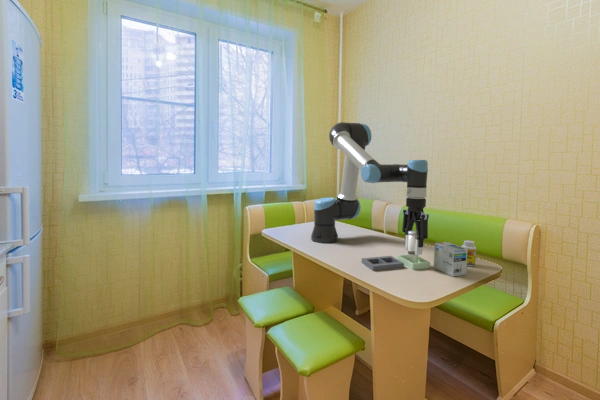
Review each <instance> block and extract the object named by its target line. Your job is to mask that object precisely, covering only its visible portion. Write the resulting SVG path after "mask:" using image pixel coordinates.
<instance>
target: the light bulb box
mask: <svg viewBox="0 0 600 400" xmlns="http://www.w3.org/2000/svg"><path fill="white" fill-rule="evenodd" d="M461 246H462V245H461ZM461 246H460V245H458V244H454V243H451V242H449V241H443V242H442V241H441V242H434V253H433V256H434V257H433V268H434V269H436V270H439V271H440V272H442V273H444V274H446V275H449V276H451V277H460V276H467V268H468V266H467V252H468V248H464V247H461Z"/></svg>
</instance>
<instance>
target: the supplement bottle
mask: <svg viewBox="0 0 600 400" xmlns="http://www.w3.org/2000/svg"><path fill="white" fill-rule="evenodd" d="M461 247H464V248H468V252H467V267H474V266H475V265H476V256H477V247H476V246H475V241H474V240H469V239H468V240H467V239H466V240H464V241H463V244H462V245H461Z"/></svg>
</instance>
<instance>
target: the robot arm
mask: <svg viewBox="0 0 600 400" xmlns="http://www.w3.org/2000/svg"><path fill="white" fill-rule="evenodd" d="M328 135H329V136H328V138H329V139H328V140H329V141H330V143H331V145H332V146H333V147H334V148H335V149H337V150H340V151H341V152H342V153H343V154H344V162H343V170H342V177H341V184H340V191H339V193H338V194H337V195H336V197H330V196H329V197H321V198H318V199H316V200H315V201H314V207H313V211H314V213H313V214H314V216H313V219H314V223H313V224H314V225H313V229H312V232H311V235H310V240H311V239H312V240H314V241H313V242H315V241H317V242H316V243H320V242H324V243H323V244H328V243H329V242H331V243H336V242H337V240H339V234H338V232H337V229H336V221H343V220H344V221H345V220H351V219H352V220H353V219H355V218H357V217H358V216H359V215H360V212H361V205H360V204H361V203H360V201H359V199H358V196H357V195H356V193H357V186H358V179H359V173H360V176H361V179H362V181H363V182H365V183H371V184H376V183H377V184H378V183H406V200H405V201H406V203H405V206H406V207H407V209H403V211H402V212H403V214H402V215H403V216H402V217H403V218H402V227H401V228H402V230H401V232H402V233H404V236H405V238H404V240H405V248H404V250H406V251H408V231H413V227H414V224H415V231H417V238H416V249H415V255H418V256H419V255H420V256H421V255H423V248H424V240H426V239H427V240H428V237H429V233H428V232H429V230H428V226H429V225H428V223H429V222H428V221H429V217H430V214H428V213H427V214H426V213H425V212H424V209H425V207H426V206H427V199H426V197H427V188H428V187H427V184H428V172H429V167H428V160H426V159H409V160H408V161H407V164H401V163H399V164H398V163H393V164H381V163H380V162H378V161H377V160H375V158H373V156H371V155H370V154H369V153H368V152H367V151H366V147H367V146H369V145H370V143H371V141H372V131H371V128H370V127H369V125H367V124H364V123H360V122H344V121H343V122H337V123H335V124H333V126H332V127H331V129H330V131H329V133H328ZM312 240H311V241H312ZM335 241H336V242H335ZM329 244H330V243H329Z"/></svg>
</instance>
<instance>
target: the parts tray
mask: <svg viewBox="0 0 600 400" xmlns="http://www.w3.org/2000/svg"><path fill="white" fill-rule="evenodd" d="M396 259H397V260H399V261H401V262H403V263H404V267H407V268H408V269H411V270H413V271H414V270H415V271H416V270H423V269H424V270H425V269H430V266H431V262H430V261H429V260H427V259H425V258H422V257H420V256H418V263H412V262H410V261H408V254H398V255H396Z"/></svg>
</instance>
